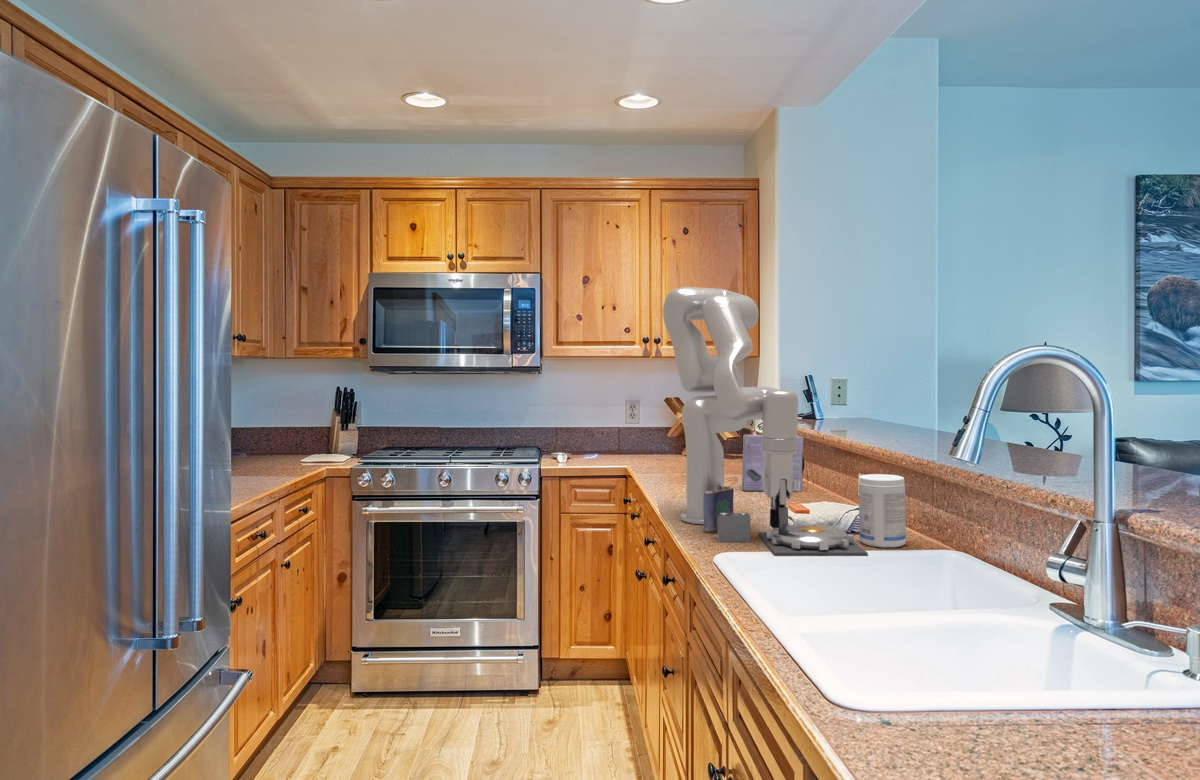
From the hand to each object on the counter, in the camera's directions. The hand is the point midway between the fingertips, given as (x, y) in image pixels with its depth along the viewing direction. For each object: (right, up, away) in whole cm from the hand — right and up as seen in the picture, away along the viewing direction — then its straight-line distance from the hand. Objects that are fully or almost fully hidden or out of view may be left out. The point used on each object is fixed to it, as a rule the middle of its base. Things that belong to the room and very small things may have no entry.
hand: (777, 526), depth 164 cm
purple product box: (+15, -1, +67) cm, 68 cm away
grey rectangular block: (-10, -3, +1) cm, 10 cm away
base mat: (+6, -3, -3) cm, 8 cm away
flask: (-11, -3, +13) cm, 17 cm away
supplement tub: (+22, -3, -3) cm, 23 cm away
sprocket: (+6, -2, -3) cm, 7 cm away
